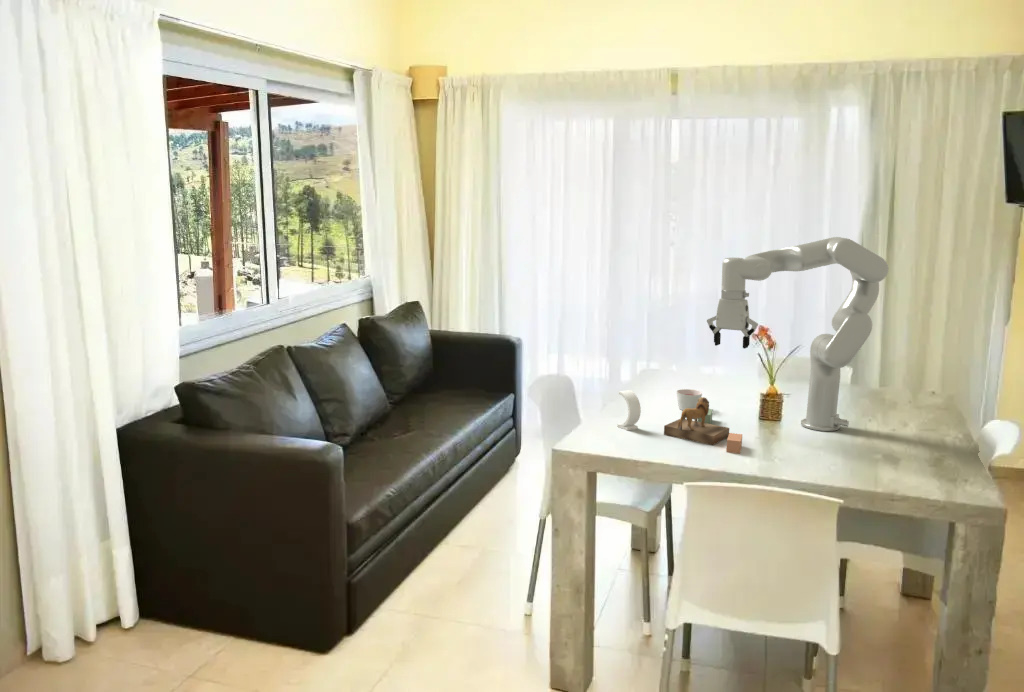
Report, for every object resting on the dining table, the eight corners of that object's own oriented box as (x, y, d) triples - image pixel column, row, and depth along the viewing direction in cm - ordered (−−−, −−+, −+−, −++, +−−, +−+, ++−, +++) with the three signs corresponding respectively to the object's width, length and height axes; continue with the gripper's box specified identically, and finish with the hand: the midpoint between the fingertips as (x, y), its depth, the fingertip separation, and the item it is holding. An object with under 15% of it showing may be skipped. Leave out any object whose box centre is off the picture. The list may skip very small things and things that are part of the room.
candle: (684, 404, 313) (686, 388, 312) (705, 409, 306) (707, 392, 305) (670, 408, 306) (671, 391, 305) (691, 413, 300) (693, 396, 299)
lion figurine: (697, 421, 279) (699, 394, 278) (711, 424, 276) (713, 397, 274) (673, 430, 269) (674, 402, 267) (687, 433, 265) (689, 405, 264)
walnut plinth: (728, 436, 273) (729, 427, 273) (712, 445, 264) (713, 436, 263) (680, 426, 283) (681, 418, 283) (663, 434, 274) (664, 425, 273)
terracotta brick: (728, 445, 265) (729, 432, 264) (741, 446, 264) (742, 434, 263) (726, 452, 258) (727, 439, 257) (739, 454, 257) (740, 441, 256)
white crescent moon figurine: (627, 424, 284) (629, 390, 282) (639, 429, 280) (641, 393, 277) (617, 426, 282) (618, 391, 280) (629, 431, 277) (630, 395, 275)
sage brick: (700, 419, 294) (700, 408, 294) (711, 420, 293) (712, 409, 292) (697, 425, 287) (698, 413, 286) (709, 426, 286) (710, 414, 285)
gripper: (762, 295, 277) (760, 347, 281) (712, 292, 287) (711, 342, 291) (754, 298, 272) (752, 350, 275) (703, 295, 281) (702, 345, 285)
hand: (731, 346), depth 283 cm, fingers open, 9 cm apart
